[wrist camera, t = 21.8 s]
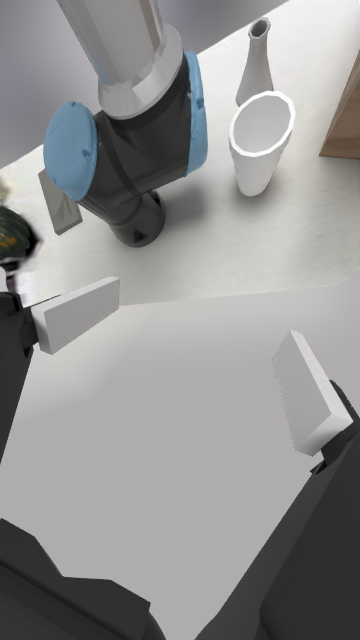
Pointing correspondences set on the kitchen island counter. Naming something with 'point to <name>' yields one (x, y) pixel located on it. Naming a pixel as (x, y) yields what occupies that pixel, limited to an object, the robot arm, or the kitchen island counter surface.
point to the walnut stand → (346, 121)
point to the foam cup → (260, 139)
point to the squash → (12, 234)
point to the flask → (256, 63)
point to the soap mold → (59, 205)
